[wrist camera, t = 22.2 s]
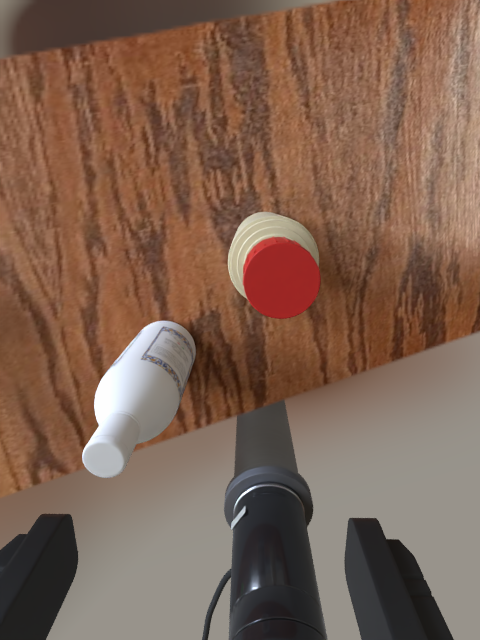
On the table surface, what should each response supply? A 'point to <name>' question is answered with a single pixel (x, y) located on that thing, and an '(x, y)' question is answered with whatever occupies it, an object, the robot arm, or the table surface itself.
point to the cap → (280, 278)
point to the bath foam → (139, 395)
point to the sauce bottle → (259, 230)
